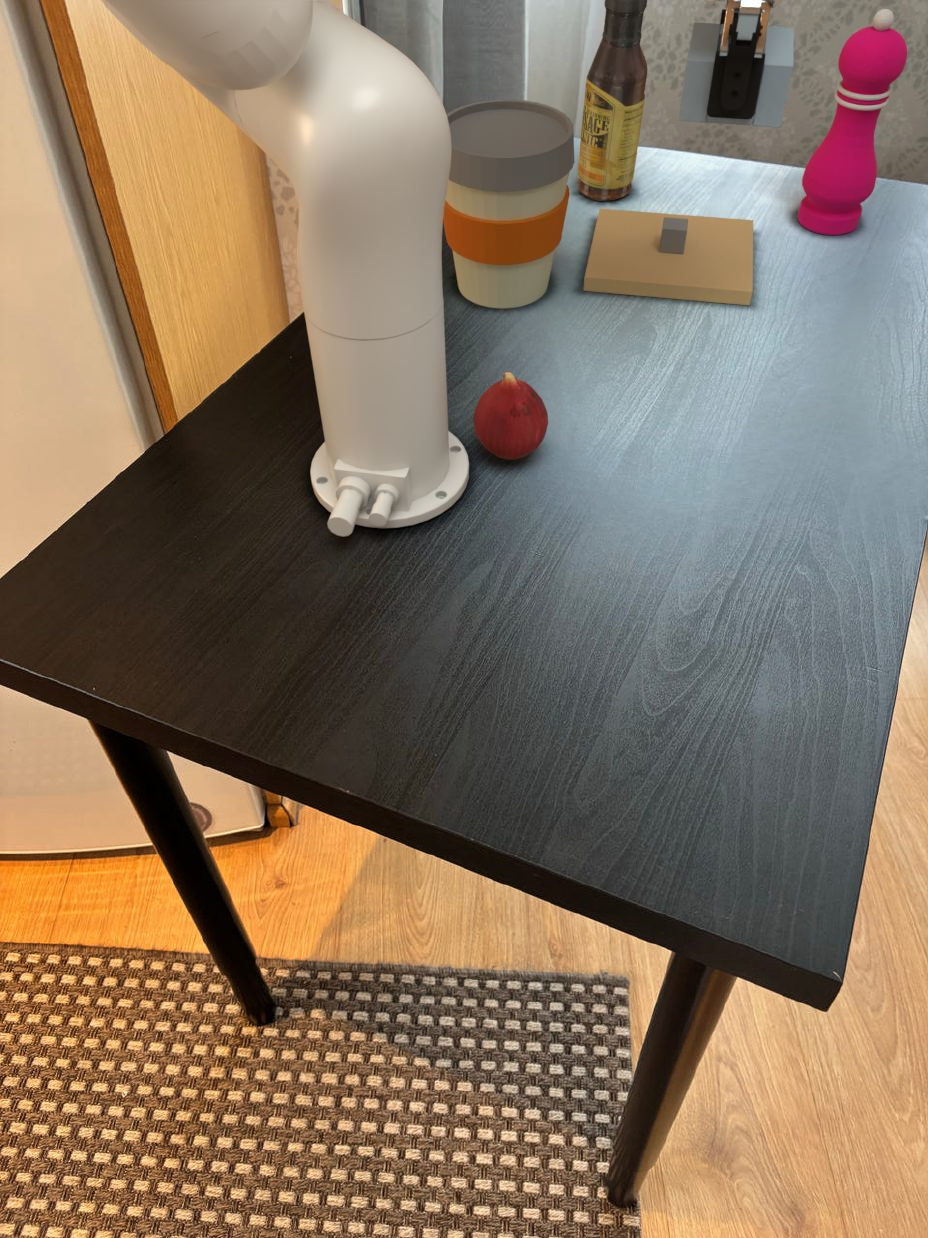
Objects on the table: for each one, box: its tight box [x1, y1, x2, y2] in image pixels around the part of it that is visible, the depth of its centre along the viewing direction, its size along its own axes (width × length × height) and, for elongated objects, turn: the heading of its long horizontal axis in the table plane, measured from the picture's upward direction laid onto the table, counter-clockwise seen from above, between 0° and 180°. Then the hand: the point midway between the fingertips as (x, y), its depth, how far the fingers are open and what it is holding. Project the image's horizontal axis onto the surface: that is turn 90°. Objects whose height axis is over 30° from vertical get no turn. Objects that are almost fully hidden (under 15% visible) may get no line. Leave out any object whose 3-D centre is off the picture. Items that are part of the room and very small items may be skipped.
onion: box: [472, 371, 549, 461], centre depth 76 cm, size 6×6×8 cm
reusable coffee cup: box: [443, 99, 576, 309], centre depth 90 cm, size 13×13×15 cm
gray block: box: [678, 22, 795, 129], centre depth 68 cm, size 7×7×4 cm
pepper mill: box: [797, 8, 908, 236], centre depth 95 cm, size 7×7×20 cm
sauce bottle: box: [577, 0, 648, 202], centre depth 101 cm, size 7×6×20 cm
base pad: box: [582, 208, 754, 306], centre depth 97 cm, size 14×16×4 cm
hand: (732, 91), depth 69 cm, fingers closed on gray block, 7 cm apart
